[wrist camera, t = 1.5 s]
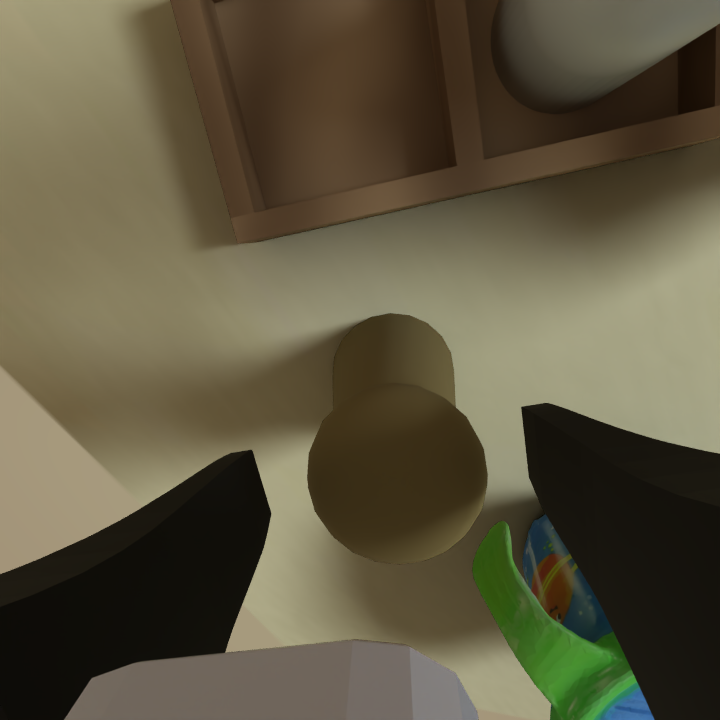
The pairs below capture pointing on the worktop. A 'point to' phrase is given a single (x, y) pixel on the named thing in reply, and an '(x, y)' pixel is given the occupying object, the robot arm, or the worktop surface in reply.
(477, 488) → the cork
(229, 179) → the caddy
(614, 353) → the worktop surface
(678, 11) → the salt shaker
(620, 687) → the snack cup
